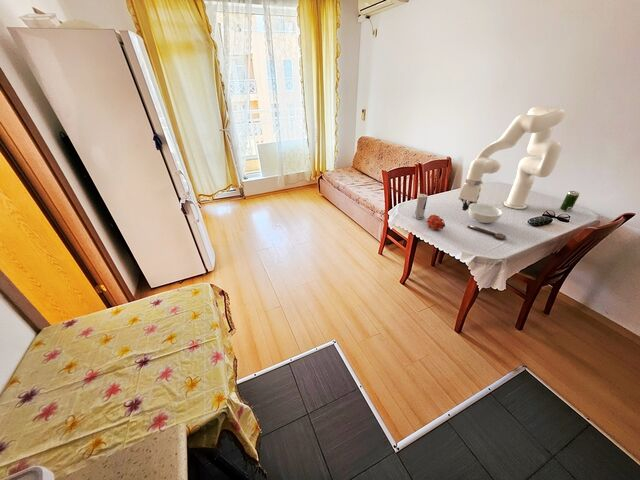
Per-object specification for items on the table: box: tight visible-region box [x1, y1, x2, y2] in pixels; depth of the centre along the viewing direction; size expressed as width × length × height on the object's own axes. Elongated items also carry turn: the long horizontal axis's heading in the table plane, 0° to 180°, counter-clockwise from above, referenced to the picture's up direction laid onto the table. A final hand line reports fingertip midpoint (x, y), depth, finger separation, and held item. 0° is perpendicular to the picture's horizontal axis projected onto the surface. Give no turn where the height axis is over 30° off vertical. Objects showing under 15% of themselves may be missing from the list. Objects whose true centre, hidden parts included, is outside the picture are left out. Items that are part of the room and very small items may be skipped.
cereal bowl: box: [468, 203, 503, 224], centre depth 152 cm, size 17×17×7 cm
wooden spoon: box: [467, 224, 507, 241], centre depth 141 cm, size 20×5×2 cm, turn 41°
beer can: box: [559, 190, 581, 213], centre depth 156 cm, size 5×5×12 cm
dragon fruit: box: [425, 214, 446, 232], centre depth 147 cm, size 8×8×12 cm
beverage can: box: [413, 193, 428, 220], centre depth 157 cm, size 6×6×15 cm
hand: (464, 209), depth 159 cm, fingers closed
